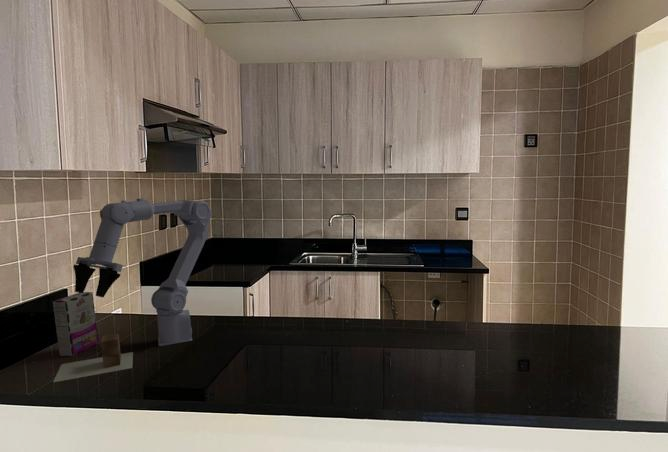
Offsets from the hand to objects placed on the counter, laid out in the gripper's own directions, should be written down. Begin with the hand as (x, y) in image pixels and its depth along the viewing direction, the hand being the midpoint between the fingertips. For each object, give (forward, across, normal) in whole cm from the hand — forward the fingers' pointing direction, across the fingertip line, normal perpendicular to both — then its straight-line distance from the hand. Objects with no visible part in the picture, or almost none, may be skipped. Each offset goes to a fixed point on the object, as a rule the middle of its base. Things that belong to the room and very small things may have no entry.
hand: (89, 294), depth 127 cm
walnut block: (+16, +6, +10) cm, 19 cm away
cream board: (+18, +3, +7) cm, 19 cm away
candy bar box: (+16, -15, +16) cm, 27 cm away
